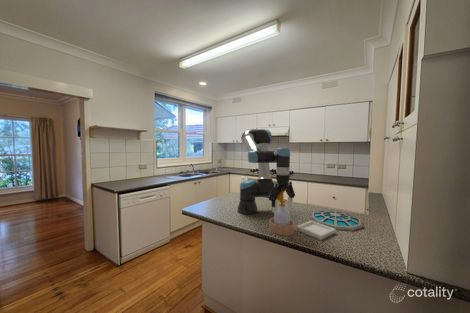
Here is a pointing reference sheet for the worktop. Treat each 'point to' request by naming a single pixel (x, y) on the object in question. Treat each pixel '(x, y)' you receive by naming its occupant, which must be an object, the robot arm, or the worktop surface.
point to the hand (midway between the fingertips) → (282, 210)
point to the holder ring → (282, 228)
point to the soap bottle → (282, 212)
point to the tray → (316, 230)
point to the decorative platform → (337, 220)
